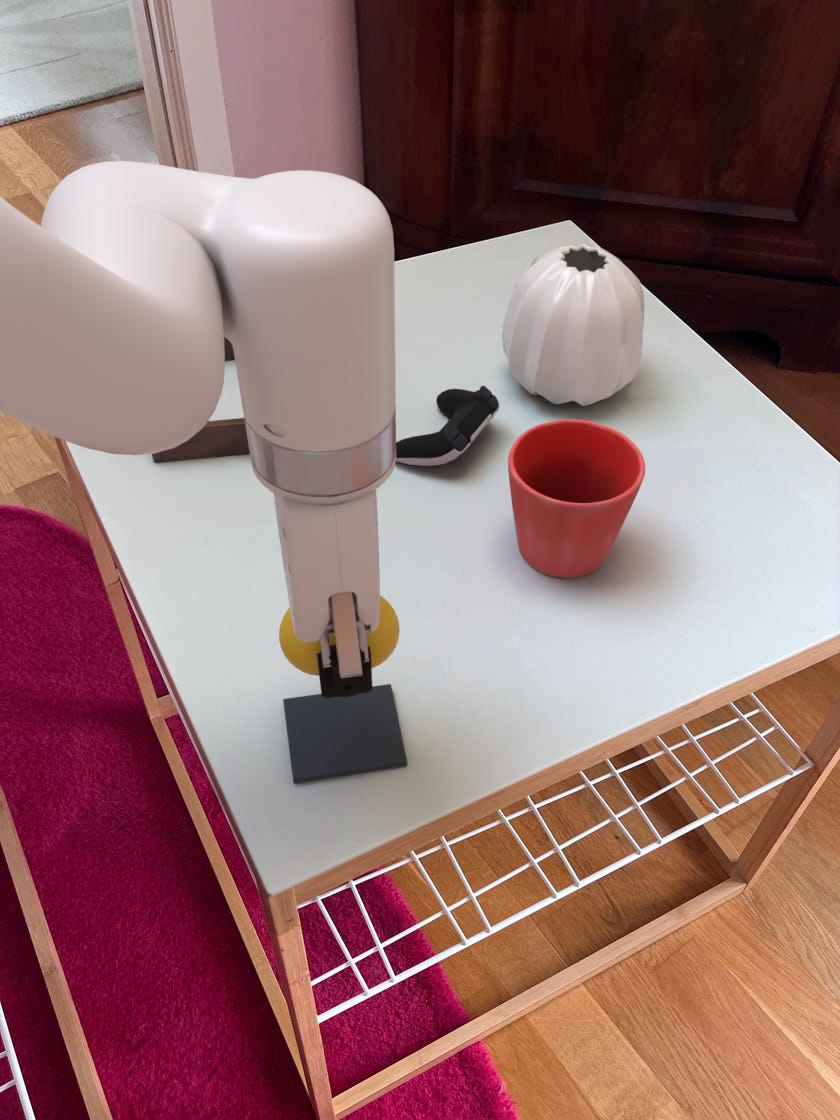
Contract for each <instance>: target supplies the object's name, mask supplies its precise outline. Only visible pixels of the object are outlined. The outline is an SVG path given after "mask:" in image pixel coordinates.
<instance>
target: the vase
mask: <svg viewBox="0 0 840 1120" xmlns="http://www.w3.org/2000/svg"><path fill="white" fill-rule="evenodd" d="M644 295H645V294H644V290H643V287H642V283H641V281H640V279H639V278H638V277H637V276H636V274H634V272H632V270H630V268H629V267H628V266H626V265H625V263H623V261H622V260H621V259H620V258H619V257H617V256H615V255H614V254H612V253H611V252H609V251H607V250H606V249H604V248H602V247H599V246H590V245H587V244H586V243H579V244H575V245H572V244H567V245H563V246H559V247H557V248H554V249H552V250H549V251H547V252H545V253H542V254H541V255H538V257H535V258H534V259H533V260H532V262H531V264H530V266H529V267H528V268H527V269H526V270H524V271H523V272H522V273H521V274H520V277H519V279H518V280H517V281H516V282H515V285H514V287H513V290H512V292H511V295H510V297H509V301H508V303H507V308H506V311H505V315H504V319H503V324H502V332H501V333H502V334H501V336H502V337H501V342H502V349H503V352H504V353H505V357H506V358H507V361H508V372H509V374H510V375H512V377H513V378H514V379H515V380H516V381H517V382H518V383H519V384H520V385H521V386H522V387H523V388H524V389H525V390H526V391H527V392H528V393H529V394H531V395H534V396H535V395H536V396H537V395H539V396H541V397H543V398H544V399H546V400H547V401H548V402H550V403H552V404H554V405H561V404H566V403H570V402H573V403H575V404H578V405H580V406H582V407H587V406H589V405H592V404H594V403H595V404H596V403H597V402H600V401H601V400H602V401H603V400H604V399H609V398H610V397H611V396H613V395H614V394H616V393H617V392H619V391H620V390H621V389H623V388H624V387H626V385H628V384H630V383H631V382H632V381H633V380H634V379H635V377H636V376H637V374H638V371H639V369H640V365H641V359H642V353H643V340H644V339H643V338H644V323H645V297H644Z"/></svg>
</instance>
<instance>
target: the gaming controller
mask: <svg viewBox="0 0 840 1120" xmlns="http://www.w3.org/2000/svg"><path fill="white" fill-rule="evenodd" d="M436 405H437V409H438V410H439V411H440V412H441V413H442V414H444V415H445V416H448V417H450V418H449V420H448V421H447V422H446V423H445V424H444V425H443V427H441V429H440V430H439V431H436V432H433V433H427V434H422V435H415V436H409V437H406V438H403V439H399V440H398V441H396V462H397V463H401V464H406V465H411V466H423V467H425V466H440V465H445V464H447V465H450V464H452V463H454V461H455V460H456V459H458V458H460V457H461V456H462V455H463V453H464V452H465V451H466V450H467V449H469V447H470V445H471V444H472V443H473V442H474V441H475V440H476V438H477V437H478V436H479V434H481V432H482V431H483V430H484V428H485V427H486V426H487V425H488V424H489V423H490V421H491V420H492V419H493V418H494V417H495V416H496V415H497V413H498V412H499V410H500V409H501V407H500V403H499V400H498V398H497V397H496V395H495V394H493V392H492V391H491V390H490V389H489V388H488V387H487V386H485V385H481V386H480V387H479V389H478V390H475V391H473V390H467V389H461V388H449V389H446V390H443V391H442V392H440V393H439V394H438V395H437V396H436Z"/></svg>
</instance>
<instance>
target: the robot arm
mask: <svg viewBox="0 0 840 1120" xmlns="http://www.w3.org/2000/svg"><path fill="white" fill-rule="evenodd" d="M393 229H394V228H393V226H392V222H391V218H390V215H389V213H388V211H387V209H386V207H385V205H384V204H383V202H382V201H381V200H380V198H378V196H377V195H376V194H375V193H373V191H372V190H370V189H369V188H367V187H366V186H364V185H363V184H361V183H360V182H358V181H356V180H354V179H351V178H349V177H346V176H344V175H340V174H338V173H332V172H328V171H327V172H326V171H319V170H309V169H307V170H306V169H304V170H303V169H302V170H301V169H300V170H286V171H278V172H273V173H269V174H265V175H261V176H259V177H256V178H251V177H250V178H249V177H240V176H230V175H225V174H224V175H223V174H218V173H217V174H216V173H210V172H204V171H197V170H192V169H185V168H180V167H174V166H169V165H163V164H156V163H149V162H141V161H130V160H110V161H107V160H106V161H102V162H97V163H91V164H87V165H85V166H83V167H80V168H78V169H76V170H74V171H73V172H70V173H69V174H68V175H66V176H65V177H64V178H63V179H62V180H61V181H60V182H59V183H58V184H57V185H56V186H55V188H54V189H53V190H52V192H51V193H50V195H49V197H48V199H47V201H46V205H45V207H44V209H43V213H42V218H41V222H40V224H38V223H36V222H35V221H34V220H32V219H31V218H30V217H28V216H27V215H25V213H23V212H21V211H19V209H17V208H16V207H14V206H13V205H12V204H11V203H10V202H8V201H7V200H6V199H4V197H2V196H1V195H0V413H1V414H4V415H6V416H8V417H10V418H12V419H14V420H15V421H18V422H20V423H22V424H24V425H27V426H29V427H31V428H33V429H35V430H37V431H40V432H42V433H44V434H46V435H49V436H51V437H54V438H56V439H58V440H61V441H64V442H67V443H70V444H73V445H76V446H79V447H82V448H85V449H89V450H92V451H93V450H94V451H98V452H102V453H108V454H112V455H125V456H143V455H152V454H154V453H158V452H161V451H165V450H168V449H172V448H175V447H176V446H178V445H180V444H182V443H184V442H186V441H188V440H189V439H190V438H191V437H193V436H194V435H195V434H196V433H197V432H199V431H200V430H201V429H202V428H203V427H204V426H205V424H206V423H207V422H208V421H210V419H211V417H212V416H213V415H214V413H215V411H216V408H217V406H218V405H219V404H218V403H219V402H220V398H221V396H222V393H223V388H224V384H225V370H226V368H225V366H226V365H225V364H226V360H225V349H224V337H225V338H227V339H228V340H229V341H230V342H231V344H232V346H233V350H234V357H235V359H234V362H235V369H236V374H237V375H236V376H237V381H238V388H239V389H238V390H239V394H240V395H239V396H240V401H241V407H242V413H243V418H244V419H245V425H246V431H247V438H248V444H249V451H250V454H249V456H250V457H249V459H250V463H251V468H252V471H253V473H254V475H255V477H256V479H257V480H258V481H259V482H260V484H261V485H262V486H263V487H265V488H266V489H267V490H268V491H270V492H271V493H273V498H274V506H275V508H274V509H275V516H276V522H277V529H278V536H279V537H278V538H279V543H280V550H281V556H282V557H281V558H282V564H283V570H284V578H285V584H286V590H287V597H288V603H289V608H290V611H291V617H292V623H293V629H294V633H295V636H296V637H297V638H298V639H299V640H300V641H302V642H303V643H307V642H316V641H318V640H319V639H320V647H321V652H320V653H317V660H318V669H319V676H318V678H319V685H320V692H321V693H320V694H322V697H324V698H332V697H349V696H354V695H357V694H360V693H367V692H370V691H371V690H372V687H373V670H372V669H373V668H372V667H371V651H370V646H368V642H367V630H369V632H370V634H371V633H373V632H374V631H375V629H376V628H377V627H378V625H379V618H380V596H381V577H380V575H381V573H380V572H381V571H380V544H379V543H380V542H379V517H378V499H377V498H378V496H377V489H379V488H380V487H381V486H382V485H383V484H384V483H385V482H386V481H387V480H388V479H389V477H390V476H391V475H392V473H393V471H394V469H395V466H396V462H397V461H396V442H397V408H396V406H397V405H396V308H395V307H396V304H395V302H396V301H395V300H396V296H395V295H396V293H395V289H396V288H395V245H394V244H395V242H394V230H393ZM330 612H332V614H330ZM333 632H334V633H335V640H336V645H331V646H330V644H329V635H328V633H333Z"/></svg>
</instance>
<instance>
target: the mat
mask: <svg viewBox="0 0 840 1120" xmlns="http://www.w3.org/2000/svg"><path fill="white" fill-rule="evenodd" d="M282 702H283V709H284V717H285V725H286V734H287V742H288V750H289V758H290V767H291V774H292V783H293V784H300V783H306V782H307V783H308V782H312V781H319V780H326V779H331V778H338V777H344V776H351V775H358V774H363V773H371V772H376V771H382V770H389V769H395V768H400V767H407V766H408V758H407V754H406V749H405V745H404V739H403V735H402V731H401V730H402V729H401V725H400V721H399V715H398V711H397V707H396V701H395V697H394V692H393V688H392V684H391V683H387V684H381V685H372V690H371V691H370V692H367V693H360V694H357V695H354V696H349V697H332V698H324V697H322V694H321V693H316V694H309V695H303V696H296V697H289V698H283V700H282Z"/></svg>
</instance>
